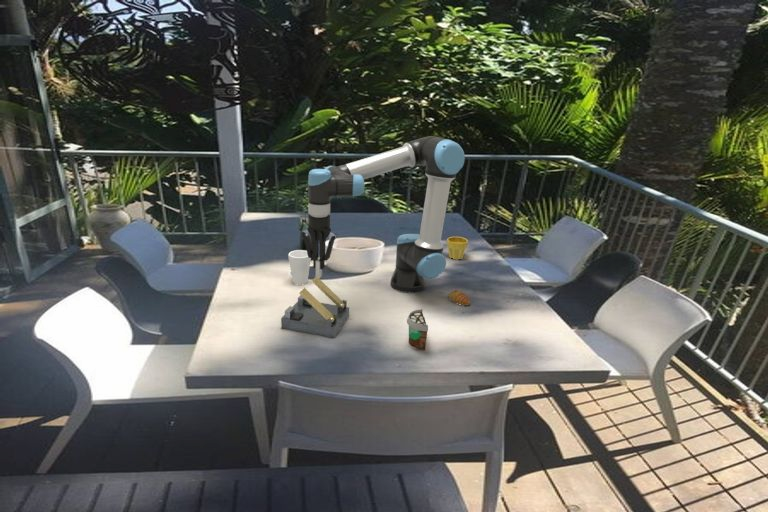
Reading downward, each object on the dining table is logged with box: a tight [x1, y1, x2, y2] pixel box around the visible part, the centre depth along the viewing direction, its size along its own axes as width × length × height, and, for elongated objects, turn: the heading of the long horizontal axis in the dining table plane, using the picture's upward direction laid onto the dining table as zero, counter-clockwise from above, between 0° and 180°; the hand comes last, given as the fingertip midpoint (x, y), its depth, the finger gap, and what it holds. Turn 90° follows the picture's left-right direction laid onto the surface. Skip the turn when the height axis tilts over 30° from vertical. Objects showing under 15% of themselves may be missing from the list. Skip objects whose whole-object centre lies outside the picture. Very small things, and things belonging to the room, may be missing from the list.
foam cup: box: [288, 249, 312, 286], centre depth 207 cm, size 10×9×13 cm
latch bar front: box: [298, 287, 335, 322], centre depth 168 cm, size 15×3×2 cm
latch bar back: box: [311, 276, 346, 308], centre depth 178 cm, size 15×3×2 cm
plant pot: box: [446, 236, 469, 260], centre depth 245 cm, size 10×10×10 cm
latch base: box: [280, 294, 350, 339], centre depth 176 cm, size 20×17×7 cm
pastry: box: [448, 289, 471, 306], centre depth 199 cm, size 9×7×4 cm
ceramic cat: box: [297, 213, 313, 261], centre depth 238 cm, size 20×6×20 cm, turn 23°
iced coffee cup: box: [406, 309, 429, 351], centre depth 166 cm, size 12×6×10 cm, turn 5°
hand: (318, 276), depth 177 cm, fingers closed
